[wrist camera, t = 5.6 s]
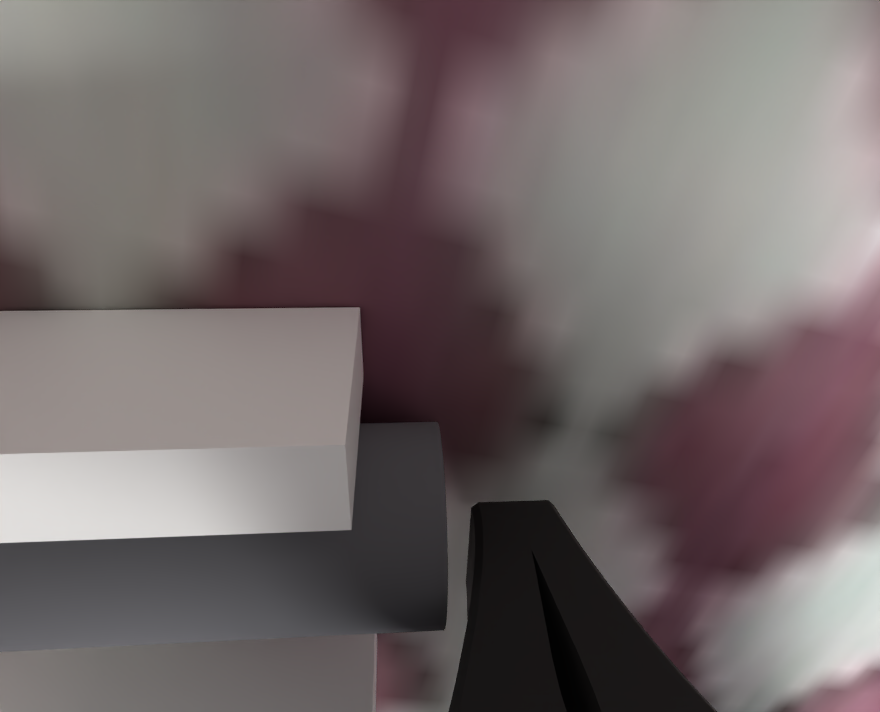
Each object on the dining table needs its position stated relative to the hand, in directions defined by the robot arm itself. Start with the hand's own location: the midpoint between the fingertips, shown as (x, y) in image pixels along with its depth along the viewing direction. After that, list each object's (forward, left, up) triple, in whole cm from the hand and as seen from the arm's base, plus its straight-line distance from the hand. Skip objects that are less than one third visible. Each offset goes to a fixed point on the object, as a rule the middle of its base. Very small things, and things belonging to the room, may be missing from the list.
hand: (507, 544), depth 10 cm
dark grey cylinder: (+5, 0, 0) cm, 5 cm away
